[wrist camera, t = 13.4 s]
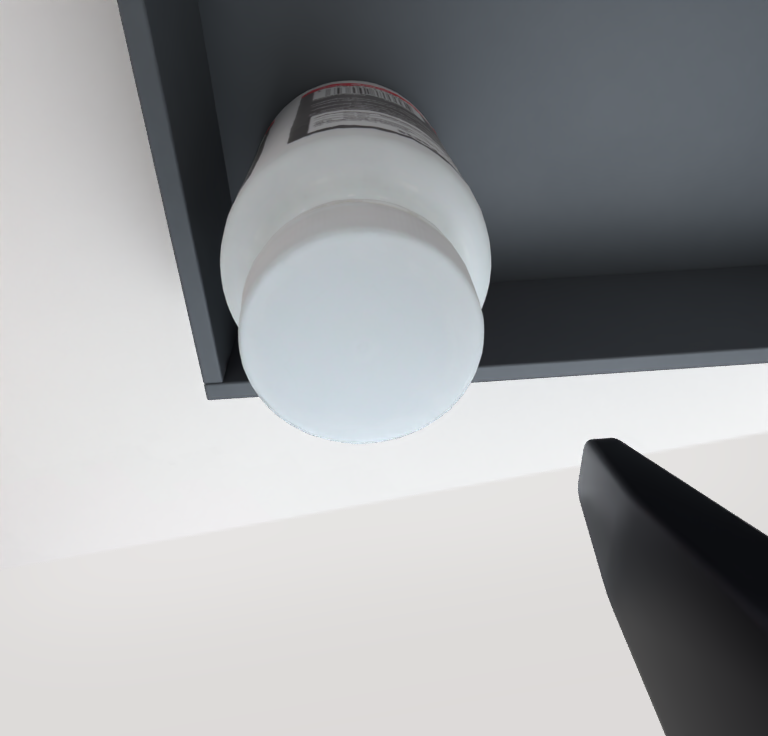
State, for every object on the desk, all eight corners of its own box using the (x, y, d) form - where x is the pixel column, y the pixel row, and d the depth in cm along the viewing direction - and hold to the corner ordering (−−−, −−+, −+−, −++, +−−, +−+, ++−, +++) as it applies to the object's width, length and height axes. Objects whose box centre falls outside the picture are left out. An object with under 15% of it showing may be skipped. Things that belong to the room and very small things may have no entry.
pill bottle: (349, 298, 20) (355, 521, 12) (217, 174, 18) (113, 346, 10) (482, 181, 19) (594, 350, 10) (354, 29, 16) (369, 89, 8)
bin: (866, 265, 22) (1011, 347, 17) (236, 305, 21) (206, 401, 16) (1145, -468, 13) (1591, -710, 8) (103, -435, 12) (-38, -675, 8)
